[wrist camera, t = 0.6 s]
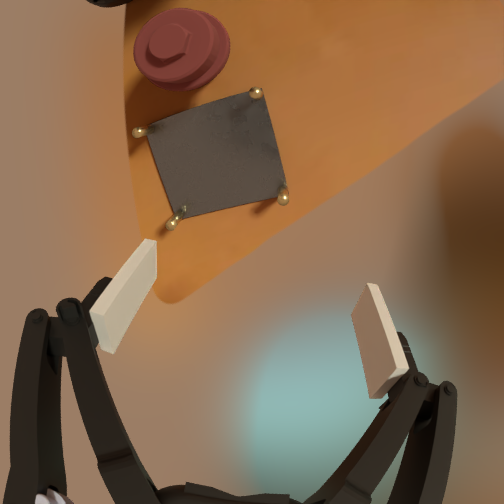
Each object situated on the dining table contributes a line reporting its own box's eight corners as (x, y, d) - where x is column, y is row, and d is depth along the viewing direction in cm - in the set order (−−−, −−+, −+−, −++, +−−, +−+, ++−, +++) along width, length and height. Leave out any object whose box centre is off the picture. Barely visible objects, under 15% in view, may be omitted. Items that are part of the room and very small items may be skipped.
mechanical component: (228, 99, 32) (159, 89, 32) (247, 32, 27) (175, 25, 27) (205, 95, 22) (112, 86, 21) (232, 0, 17) (135, -1, 16)
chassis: (145, 126, 35) (130, 129, 31) (261, 88, 31) (259, 85, 27) (177, 218, 41) (167, 231, 38) (288, 193, 38) (289, 204, 34)
